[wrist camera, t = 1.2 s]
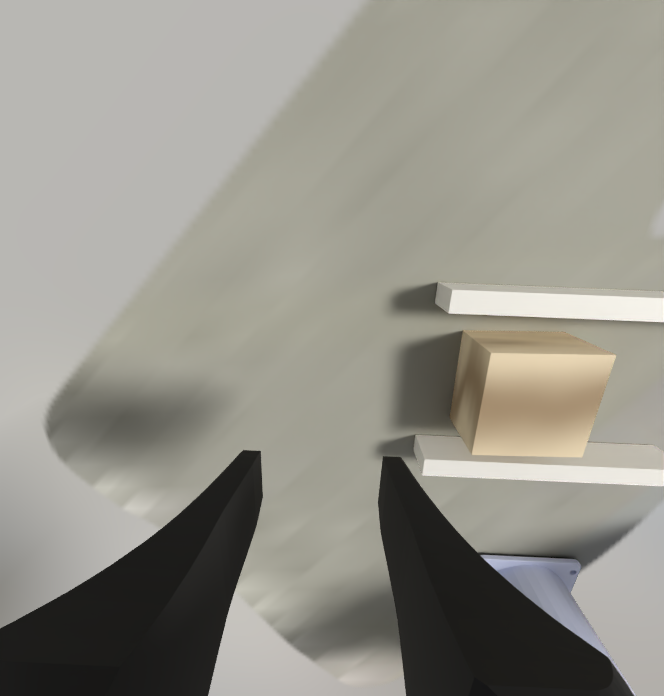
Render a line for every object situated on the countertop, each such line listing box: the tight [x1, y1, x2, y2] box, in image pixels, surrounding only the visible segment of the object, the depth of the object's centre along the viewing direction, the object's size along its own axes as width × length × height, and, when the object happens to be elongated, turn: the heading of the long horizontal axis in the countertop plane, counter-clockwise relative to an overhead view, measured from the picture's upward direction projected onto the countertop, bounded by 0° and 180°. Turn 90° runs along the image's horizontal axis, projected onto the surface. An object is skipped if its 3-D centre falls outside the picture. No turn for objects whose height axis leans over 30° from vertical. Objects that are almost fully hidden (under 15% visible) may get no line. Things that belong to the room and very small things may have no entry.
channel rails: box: [413, 282, 664, 486], centre depth 19 cm, size 11×16×2 cm
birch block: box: [450, 330, 616, 457], centre depth 18 cm, size 6×6×4 cm
